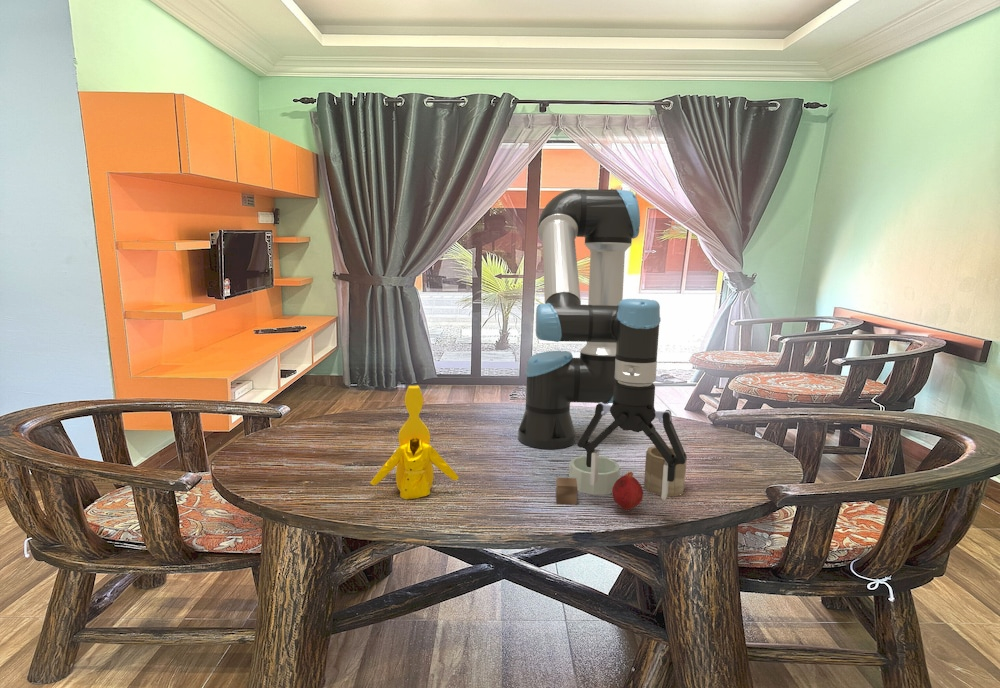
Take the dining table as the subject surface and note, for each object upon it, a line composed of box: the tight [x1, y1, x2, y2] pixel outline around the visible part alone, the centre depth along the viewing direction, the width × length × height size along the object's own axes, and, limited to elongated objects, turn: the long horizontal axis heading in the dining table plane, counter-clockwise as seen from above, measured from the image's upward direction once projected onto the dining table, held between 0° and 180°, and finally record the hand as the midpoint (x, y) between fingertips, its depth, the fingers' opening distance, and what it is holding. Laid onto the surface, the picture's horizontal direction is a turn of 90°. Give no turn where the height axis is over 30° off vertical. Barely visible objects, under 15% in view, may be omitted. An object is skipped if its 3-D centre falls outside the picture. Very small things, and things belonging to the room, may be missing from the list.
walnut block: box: [555, 476, 578, 506], centre depth 112 cm, size 4×4×4 cm
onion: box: [611, 471, 644, 512], centre depth 108 cm, size 6×6×8 cm
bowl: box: [568, 455, 621, 496], centre depth 120 cm, size 10×10×4 cm
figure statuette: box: [369, 384, 460, 500], centre depth 113 cm, size 18×8×22 cm, turn 100°
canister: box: [643, 445, 688, 497], centre depth 118 cm, size 8×8×8 cm
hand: (628, 489), depth 107 cm, fingers open, 13 cm apart
